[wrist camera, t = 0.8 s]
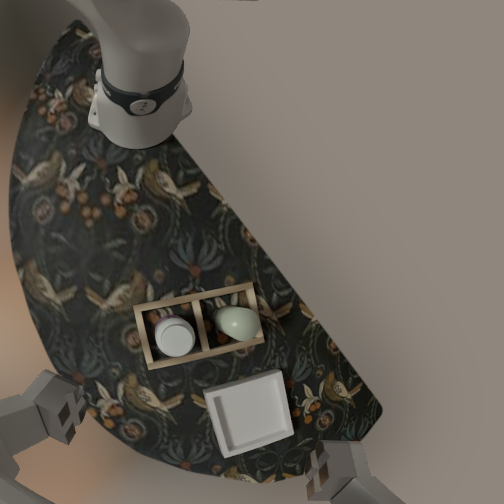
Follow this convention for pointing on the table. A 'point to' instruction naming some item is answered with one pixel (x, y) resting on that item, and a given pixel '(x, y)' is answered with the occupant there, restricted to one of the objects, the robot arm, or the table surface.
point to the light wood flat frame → (200, 325)
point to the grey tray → (249, 412)
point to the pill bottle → (174, 336)
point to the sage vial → (237, 322)
